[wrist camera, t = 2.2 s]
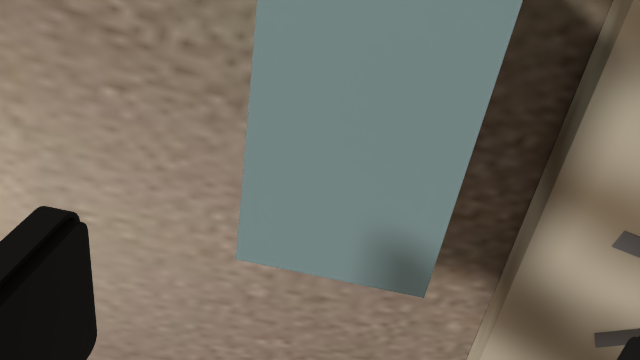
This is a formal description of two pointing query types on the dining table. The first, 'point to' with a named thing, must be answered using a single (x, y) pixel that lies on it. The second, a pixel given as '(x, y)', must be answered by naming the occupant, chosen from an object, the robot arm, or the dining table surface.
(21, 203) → the dining table surface
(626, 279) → the birch board
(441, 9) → the sanding block
